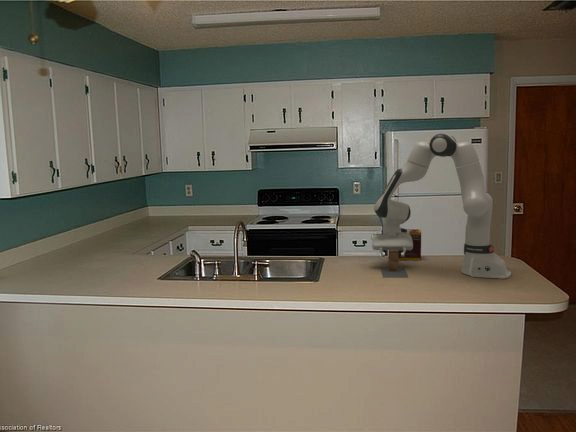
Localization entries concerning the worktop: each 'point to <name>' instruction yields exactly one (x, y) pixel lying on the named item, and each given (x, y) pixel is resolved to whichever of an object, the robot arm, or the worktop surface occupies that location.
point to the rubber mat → (394, 273)
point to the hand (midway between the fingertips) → (393, 256)
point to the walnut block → (393, 260)
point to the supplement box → (416, 251)
